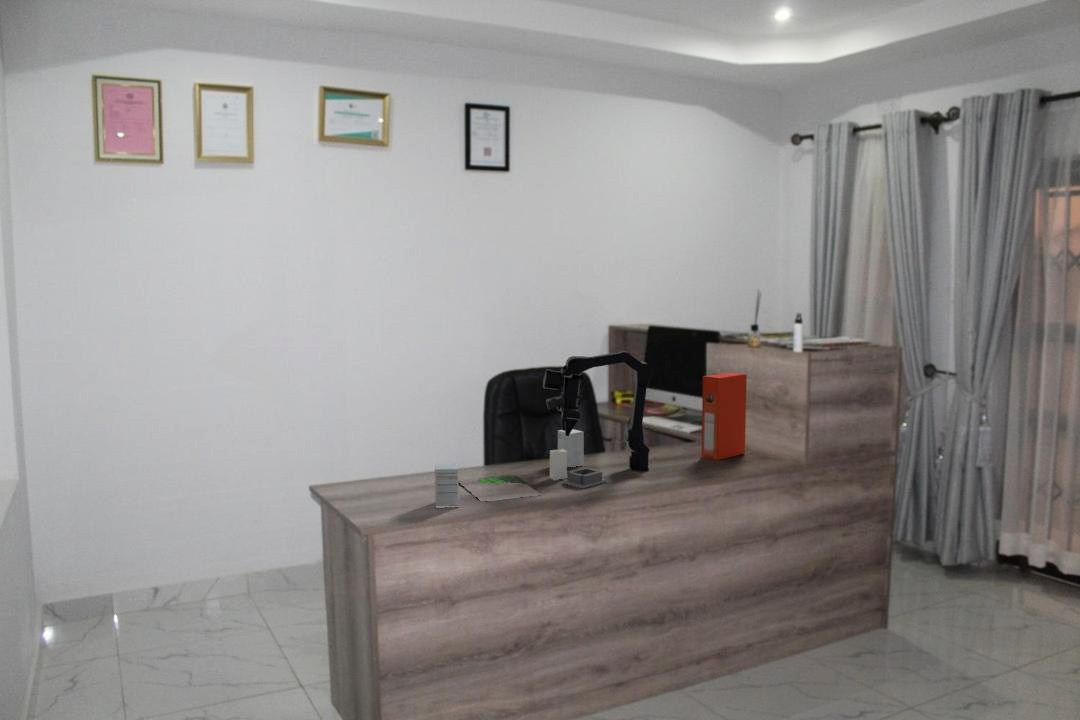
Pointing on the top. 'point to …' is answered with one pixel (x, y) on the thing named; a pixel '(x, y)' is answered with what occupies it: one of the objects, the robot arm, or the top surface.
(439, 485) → the grey drawer cabinet
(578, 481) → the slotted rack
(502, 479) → the mouse mat
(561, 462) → the plain light grey box
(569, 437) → the small box
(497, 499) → the top surface
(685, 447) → the top surface
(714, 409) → the file binder
